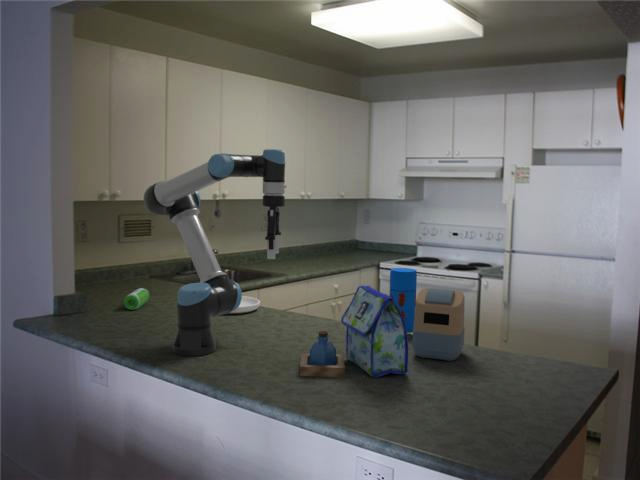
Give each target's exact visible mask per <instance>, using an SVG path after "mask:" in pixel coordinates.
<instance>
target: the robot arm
mask: <svg viewBox="0 0 640 480" xmlns="http://www.w3.org/2000/svg"><path fill="white" fill-rule="evenodd" d="M285 155H286V153H285V151H284V150H282V149H275V148H274V149H270V148H269V149H268V148H266V149H263V152H262V155H258V154H256V155H255V154H254V155H253V154H235V153H234V154H231V153H229V154H228V153H216V154H213V155H211V157H210V158H209V160H208V161H207V162H205V163H203V164H201V165H199V166H197V167H194V168H192V169H190V170H188V171H186V172H184V173H182V174H180V175H178V176H175V177H173V178H171V179H169V180H167V181H165V180H160V181H158V182H155V183H154V184H152V185H150V186H148V187H147V188H146V189H145V192H144V194H143V203H144V206H145V208H146V209H147V211H149V212H150V213H152V214H153V215H157V216H168V218H169V220H170V223H172V224H173V225H175V226H177V228H178V231H179V233H180V235H181V238H182V240H183V242H184V245H185V247H186V250H187V252H188V254H189V257H190V259H191V261H192V264H193V267H194V269H195V271H196V274H197V275H198V278H199V280H200V281H199V282H195V283H188V284H185V285H182V286H181V287H180V288H179V289H178V291H177V298H176V304H177V305H176V307H177V309H176V311H177V314H176V315H177V331H176V332H175V337H174V340H173V343H172V353H174V354H176V355H178V356H179V355H180V356H183V357H184V356H188V357H192V356H193V357H195V356H196V357H198V356H205V355H210V354H211V353H214V352H215V351H216V349H217V343H216V339H215V337H214V333H213V330H212V318H215V317H218V316H221V315H229V314H228V313H230V312H232V311H234V310H236V309H237V308H238V307H239V305H240V303H241V300H242V296H243V293H242V288H241V286H240V285H239V284H238V283H237V282H235V281H234V280H231V279H230V277H229V275H228V273H226V272H224V271H223V270H222V268H221V266H220V264H219V261H218V259H217V257H216V255H215V253H214V250H213V248H212V246H211V243H210V241H209V239H208V237H207V235H206V232H205V229H204V227H203V225H202V223H201V221H200V218H199V214H200V213H201V212H200V211H201V210H200V207H201V203H200V202H201V201H202V199H201V195H200V193H199V191H200V190H203V189H205V188H207V187H210V186H212V185H214V184H216V183H219V182H221V181H223V180H226V179H227V178H230V177H231V178H237V177H238V178H239V177H240V178H242V177H243V178H262V194H263V196H262V206H264V207H268V208H269V209H268V210H267V211H266V213H267V216H266V217H267V227H266V236H265V237H264V240H267V242H266V243H267V246H266V247H267V248H266V249H267V250H266V260H276V254H279V253H280V236H282V232H281V231H280V215H281V212H280V208H283V207H285V205H286V204H285V202H286V201H285V200H286V199H285V198H286V197H285V193H286V192H285V191H286V190H285V189H287V187H288V186H287V184H286V185H285V182H286V181H285V180H286V179H285V174H286V173H285V172H286V156H285Z"/></svg>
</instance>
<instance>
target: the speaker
mask: <svg viewBox="0 0 640 480" xmlns="http://www.w3.org/2000/svg"><path fill="white" fill-rule="evenodd" d="M149 298H150V292H149V291H148V289H146V288H142V287H140V288H137V289H135V290H133V292H131V293H129V294H127V295H126V296H125V297H124V300H123V305H124V307H125V308H126V309H127V310H129V311H130V310H132V311H135V310H136V309H139V308H141V307H143V305H144V304H145V303H147V302H148V301H149Z"/></svg>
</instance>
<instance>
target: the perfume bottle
mask: <svg viewBox="0 0 640 480" xmlns="http://www.w3.org/2000/svg"><path fill="white" fill-rule="evenodd" d="M317 334H318V336H317V340H318V341H316V342H315V341H314V343H313V345H312V346H311V348H310V349H309V354H310V364H309V365H333V366H336V354H337V349H336V347H335V346H334V344H333V342H332V341H328V340H329V332H328V331H324V330H323V331H321V330H320V331H318V332H317Z"/></svg>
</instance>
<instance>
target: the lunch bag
mask: <svg viewBox="0 0 640 480" xmlns="http://www.w3.org/2000/svg"><path fill="white" fill-rule="evenodd" d="M340 319H341V320H340V322H341V324H342V325H343V326H345V327H346V333H345V334H346V336H345V338H346V339H345V341H346V349H345V351H346V353H345V355H346V357H345V358H346V359H347V360H349V362H352V363H354V364H355V365H357V366H358V367H360V369H362V370H364V371H365V372H366V373H367V374H368V375H369V376H370V377H372V378H373V379H376V378H379V377H382V376H384V375H388V374H391V373H392V374H398V375H405V374H407V373H408V370H409V369H408V367H409V365H408V364H409V340H408V339H409V337H408V333H407V330H406V325H405V321H404V318H403V316H402V314H401V312H400V310H399V308H398V306H397V305H396V303H395V301H394V299H393V298H392V297H390V296H389V295H388V294H386V293H383V292H380V291H379V290H377V289H375V288H373V287H371V285H359V286H358V287H357V289H356V291H355V293H354V295H353V297H352V300H351V302H350V303H349V305H348V307H347V308H346V310H345V311H344V313H343V314H342V317H341V318H340Z"/></svg>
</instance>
